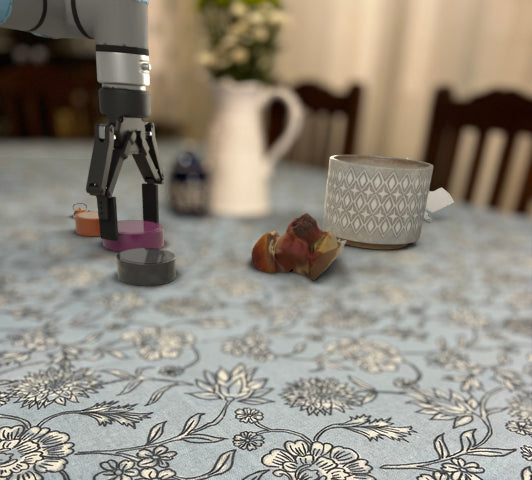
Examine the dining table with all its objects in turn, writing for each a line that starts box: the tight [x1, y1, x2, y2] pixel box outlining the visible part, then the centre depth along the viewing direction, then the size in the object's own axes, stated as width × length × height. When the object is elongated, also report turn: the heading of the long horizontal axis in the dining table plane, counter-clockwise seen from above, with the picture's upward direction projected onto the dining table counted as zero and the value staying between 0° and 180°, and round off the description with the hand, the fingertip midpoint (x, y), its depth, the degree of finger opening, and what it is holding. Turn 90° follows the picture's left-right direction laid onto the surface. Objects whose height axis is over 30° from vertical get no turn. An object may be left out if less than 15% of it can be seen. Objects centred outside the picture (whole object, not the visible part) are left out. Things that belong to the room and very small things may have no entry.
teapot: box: [72, 202, 91, 219], centre depth 102 cm, size 3×3×3 cm
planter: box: [322, 154, 434, 250], centre depth 97 cm, size 19×19×14 cm
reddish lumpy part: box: [251, 212, 346, 281], centre depth 82 cm, size 16×13×10 cm
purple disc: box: [102, 219, 165, 253], centre depth 87 cm, size 10×10×3 cm
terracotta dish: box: [73, 211, 100, 237], centre depth 92 cm, size 6×6×3 cm
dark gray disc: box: [115, 248, 177, 287], centre depth 72 cm, size 8×8×3 cm
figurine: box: [405, 157, 455, 223], centre depth 120 cm, size 15×12×14 cm
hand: (131, 230), depth 86 cm, fingers open, 13 cm apart
